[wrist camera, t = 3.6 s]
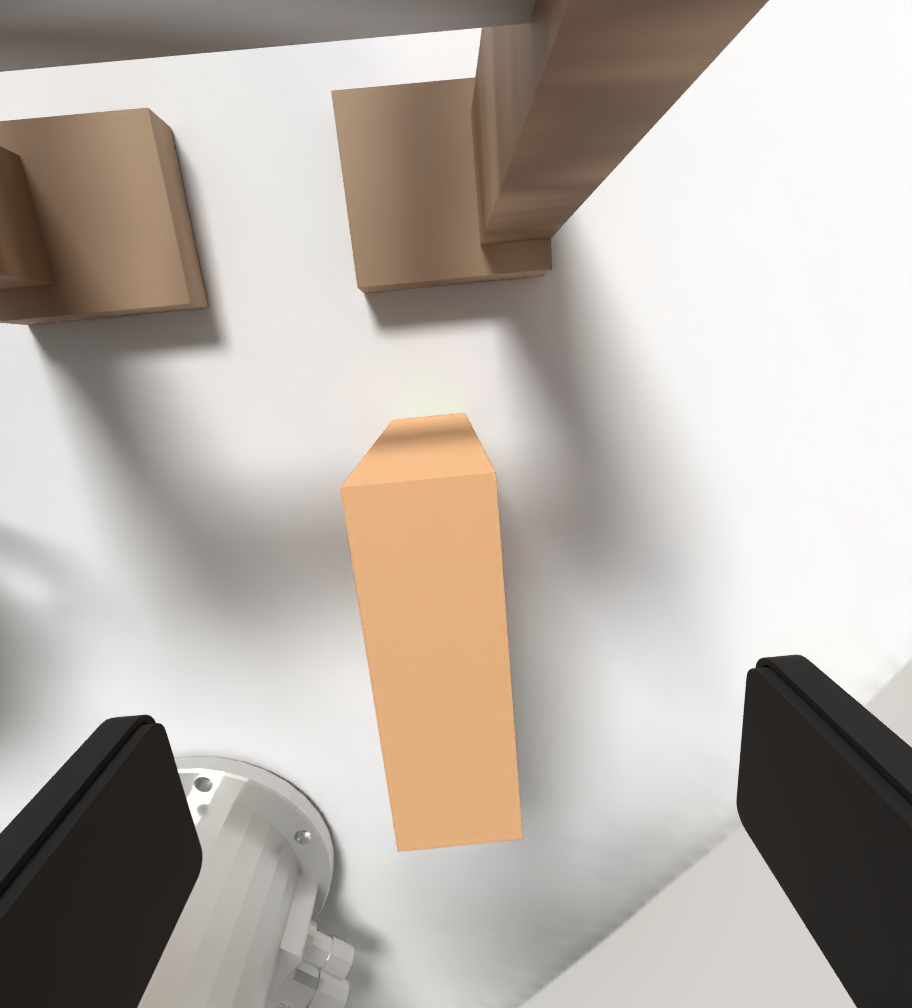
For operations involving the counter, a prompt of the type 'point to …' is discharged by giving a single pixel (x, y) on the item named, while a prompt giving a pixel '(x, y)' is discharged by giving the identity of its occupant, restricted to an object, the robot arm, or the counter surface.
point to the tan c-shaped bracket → (436, 631)
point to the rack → (341, 139)
